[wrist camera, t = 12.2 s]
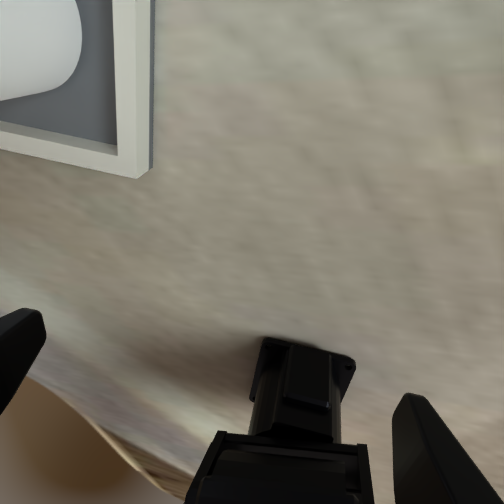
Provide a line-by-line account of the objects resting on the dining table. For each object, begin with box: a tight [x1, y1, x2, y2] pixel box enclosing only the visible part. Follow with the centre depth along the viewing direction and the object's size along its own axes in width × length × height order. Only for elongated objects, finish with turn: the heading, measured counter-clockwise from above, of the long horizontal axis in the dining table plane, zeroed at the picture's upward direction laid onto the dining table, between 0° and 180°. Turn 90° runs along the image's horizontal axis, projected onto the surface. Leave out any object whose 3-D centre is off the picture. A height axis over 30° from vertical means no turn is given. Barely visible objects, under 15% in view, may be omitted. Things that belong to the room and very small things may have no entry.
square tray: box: [0, 0, 155, 179], centre depth 17 cm, size 13×13×2 cm
